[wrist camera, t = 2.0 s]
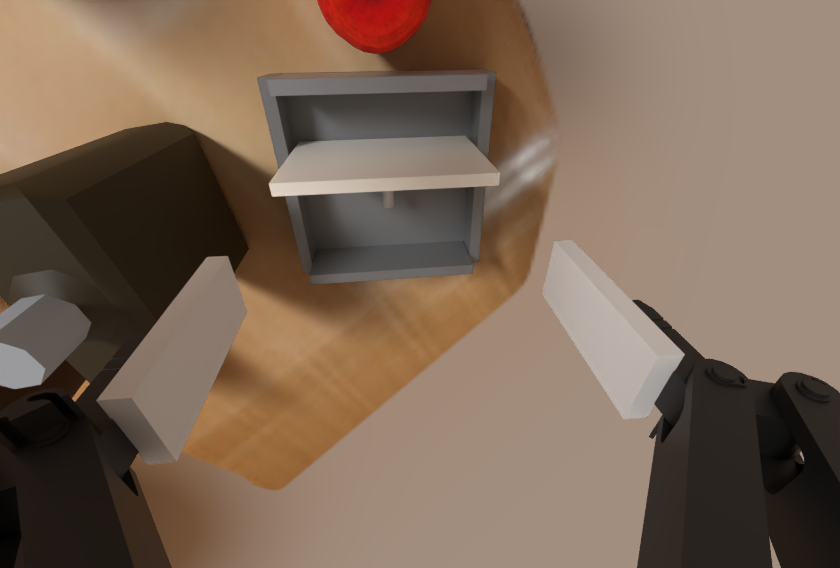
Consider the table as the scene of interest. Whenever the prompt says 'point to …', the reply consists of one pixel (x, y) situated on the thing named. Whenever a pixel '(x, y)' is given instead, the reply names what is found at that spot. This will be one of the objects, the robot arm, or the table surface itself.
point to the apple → (375, 21)
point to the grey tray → (363, 212)
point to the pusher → (383, 166)
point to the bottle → (103, 246)
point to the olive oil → (46, 385)
